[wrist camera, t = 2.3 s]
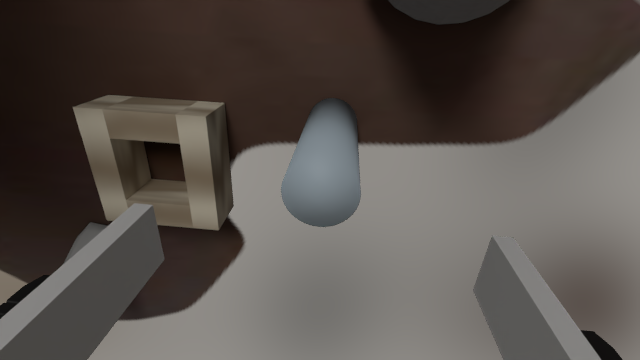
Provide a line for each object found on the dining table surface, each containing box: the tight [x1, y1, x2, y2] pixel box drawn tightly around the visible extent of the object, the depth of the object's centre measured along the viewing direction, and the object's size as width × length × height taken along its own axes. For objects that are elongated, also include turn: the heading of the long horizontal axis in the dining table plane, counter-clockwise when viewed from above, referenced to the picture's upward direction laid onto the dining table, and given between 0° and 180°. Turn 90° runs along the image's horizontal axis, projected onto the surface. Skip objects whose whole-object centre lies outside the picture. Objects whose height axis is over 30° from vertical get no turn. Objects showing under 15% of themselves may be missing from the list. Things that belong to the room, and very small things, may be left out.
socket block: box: [73, 95, 233, 230], centre depth 28 cm, size 10×10×4 cm
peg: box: [281, 98, 361, 227], centre depth 22 cm, size 4×4×12 cm
